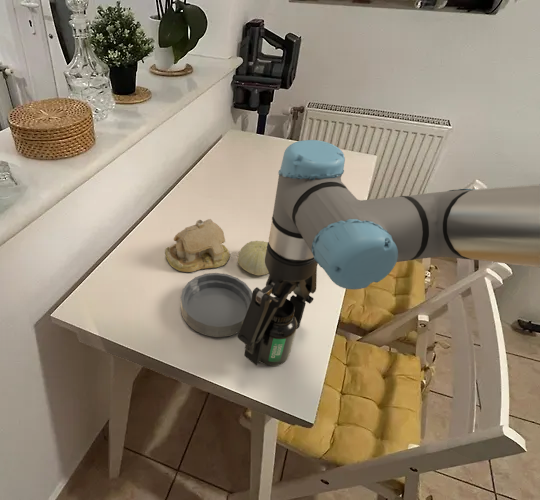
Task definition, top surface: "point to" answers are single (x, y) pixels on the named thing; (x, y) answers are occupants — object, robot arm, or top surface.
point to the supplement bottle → (279, 335)
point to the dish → (215, 304)
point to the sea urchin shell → (253, 257)
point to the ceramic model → (198, 247)
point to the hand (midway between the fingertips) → (272, 341)
